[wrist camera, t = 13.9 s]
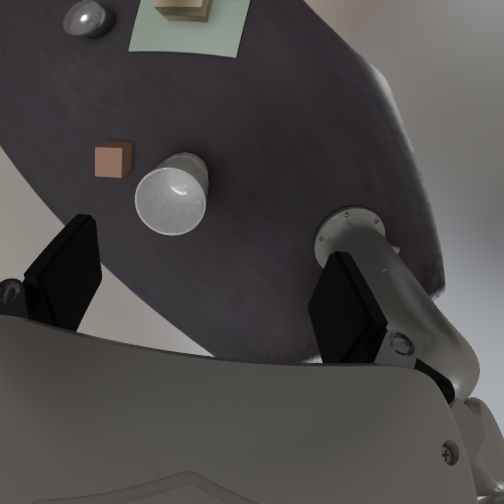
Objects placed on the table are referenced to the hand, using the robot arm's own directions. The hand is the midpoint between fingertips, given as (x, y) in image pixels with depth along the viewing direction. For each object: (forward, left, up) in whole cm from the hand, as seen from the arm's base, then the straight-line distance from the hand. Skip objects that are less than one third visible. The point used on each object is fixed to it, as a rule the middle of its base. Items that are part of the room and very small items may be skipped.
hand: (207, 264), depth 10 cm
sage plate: (+8, -18, -28) cm, 34 cm away
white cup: (+5, +6, -28) cm, 30 cm away
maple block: (+8, -18, -27) cm, 34 cm away
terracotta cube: (+15, +4, -28) cm, 32 cm away
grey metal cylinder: (+21, -16, -28) cm, 39 cm away
